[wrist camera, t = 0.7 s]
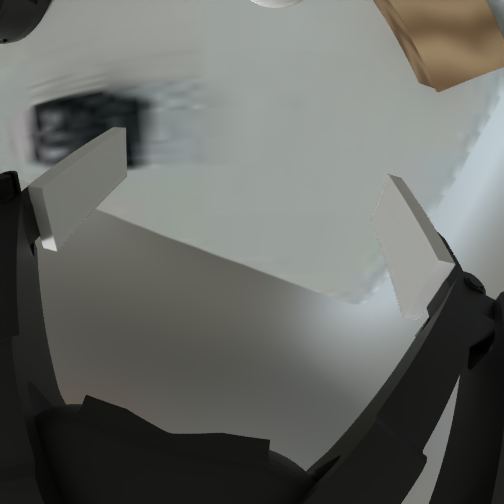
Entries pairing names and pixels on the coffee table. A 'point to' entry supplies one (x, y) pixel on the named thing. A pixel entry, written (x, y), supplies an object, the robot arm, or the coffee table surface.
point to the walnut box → (446, 38)
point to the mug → (275, 3)
